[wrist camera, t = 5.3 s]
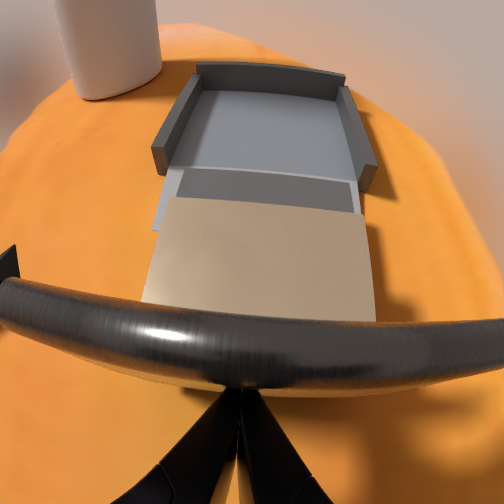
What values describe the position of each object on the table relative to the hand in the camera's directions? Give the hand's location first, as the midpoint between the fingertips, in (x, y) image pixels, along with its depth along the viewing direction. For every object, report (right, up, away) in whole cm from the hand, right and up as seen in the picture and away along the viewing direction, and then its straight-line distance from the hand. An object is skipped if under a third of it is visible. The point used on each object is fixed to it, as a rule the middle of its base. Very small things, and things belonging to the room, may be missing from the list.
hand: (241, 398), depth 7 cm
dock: (+1, +12, +17) cm, 21 cm away
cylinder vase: (-18, +28, +24) cm, 41 cm away
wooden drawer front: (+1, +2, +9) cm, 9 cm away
